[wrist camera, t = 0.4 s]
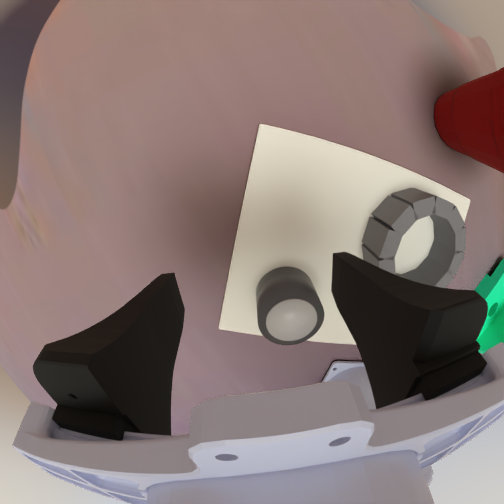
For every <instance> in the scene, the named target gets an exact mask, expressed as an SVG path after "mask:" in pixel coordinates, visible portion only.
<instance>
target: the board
mask: <svg viewBox="0 0 504 504" xmlns="http://www.w3.org/2000/svg"><path fill="white" fill-rule="evenodd" d="M469 204H470V200H469V199H468V198H466V197H464V196H462V195H460V194H458V193H456V192H454V191H452V190H450V189H448V188H446V187H444V186H442V185H440V184H438V183H436V182H434V181H432V180H430V179H428V178H425V177H423V176H421V175H419V174H417V173H414V172H412V171H410V170H407V169H405V168H403V167H400V166H398V165H395V164H393V163H390V162H388V161H385V160H382V159H380V158H377V157H375V156H372V155H369V154H366V153H363V152H361V151H358V150H355V149H352V148H349V147H346V146H343V145H339V144H336V143H333V142H330V141H326V140H323V139H320V138H316V137H313V136H309V135H305V134H302V133H298V132H294V131H290V130H286V129H282V128H277V127H273V126H268V125H264V124H260V125H259V129H258V134H257V138H256V143H255V147H254V152H253V157H252V161H251V166H250V171H249V175H248V180H247V185H246V190H245V195H244V199H243V204H242V209H241V214H240V219H239V224H238V229H237V234H236V239H235V244H234V249H233V254H232V259H231V264H230V270H229V275H228V280H227V285H226V291H225V296H224V301H223V307H222V312H221V318H220V323H219V329H222V330H228V331H234V332H241V333H247V334H254V335H261V336H263V335H262V333H261V332H260V330H259V327H258V320H257V305H256V288H257V285H258V283H259V281H260V280H261V278H262V277H263V276H264V275H265V274H266V273H268V272H269V271H271V270H273V269H276V268H279V267H295V268H298V269H300V270H302V271H304V272H305V273H306V274H307V275H308V276H309V278H310V279H311V281H312V283H313V286H314V288H315V290H316V292H317V294H318V297H319V299H320V301H321V303H322V306H323V309H324V321H323V324H322V326H321V327H320V329H319V330H318V332H317V333H316V334H315V335H314V336H312V337H311V338H309V339H308V340H306V341H314V342H325V343H338V344H354V345H356V342H355V340H354V339H353V337H352V335H351V333H350V331H349V329H348V327H347V325H346V323H345V322H344V320H343V318H342V316H341V314H340V312H339V310H338V308H337V306H336V303H335V300H334V298H333V295H332V292H331V285H332V261H333V253H338V252H348V253H350V254H353V255H355V256H357V257H359V258H361V259H363V260H365V261H367V262H369V263H371V264H373V265H375V266H377V267H379V268H381V269H383V270H386V271H388V272H390V273H392V274H395V275H397V276H400V277H403V278H406V279H409V280H412V281H415V282H418V283H422V284H426V285H431V286H435V287H441V288H446V287H447V286H448V284H449V283H450V282H451V281H452V280H453V279H454V277H453V275H456V274H457V271H458V269H459V267H460V264H461V262H462V259H463V256H464V254H465V253H464V252H462V251H464V250H465V248H466V227H464V225H465V223H464V221H465V218H466V214H467V211H468V207H469ZM452 274H453V275H452Z"/></svg>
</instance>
